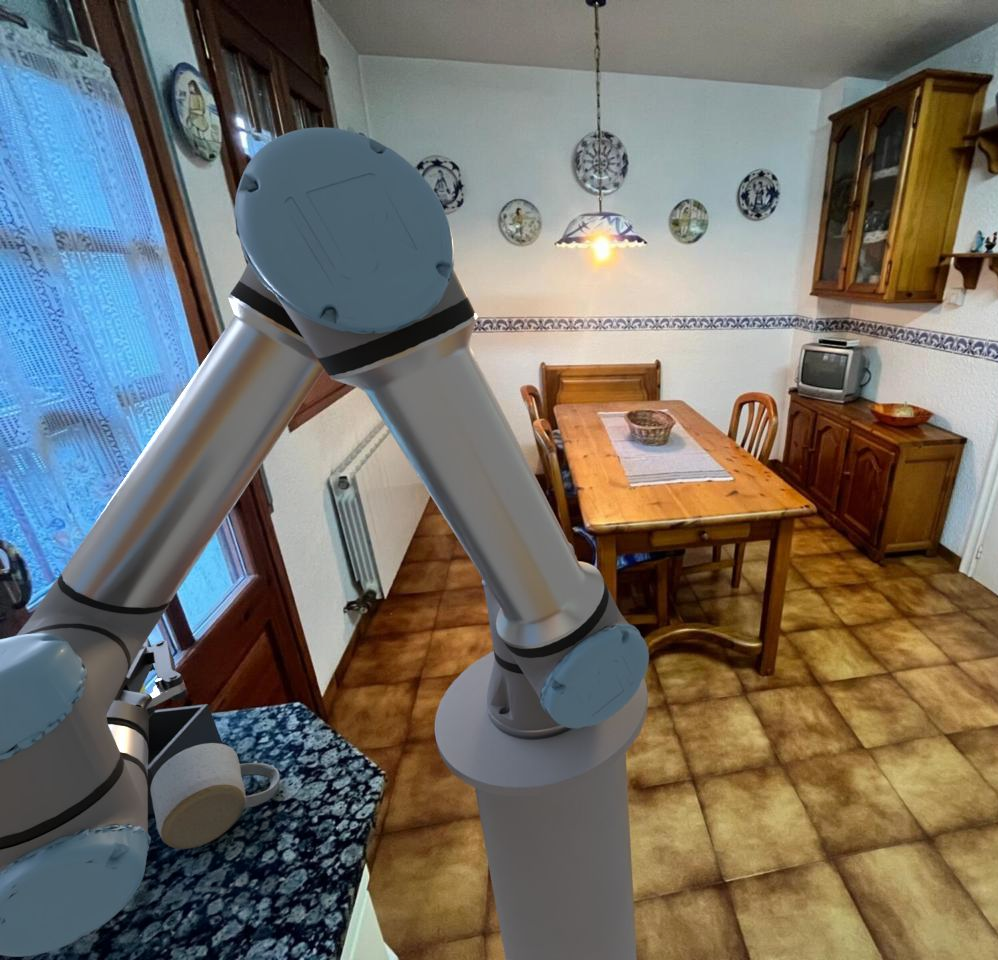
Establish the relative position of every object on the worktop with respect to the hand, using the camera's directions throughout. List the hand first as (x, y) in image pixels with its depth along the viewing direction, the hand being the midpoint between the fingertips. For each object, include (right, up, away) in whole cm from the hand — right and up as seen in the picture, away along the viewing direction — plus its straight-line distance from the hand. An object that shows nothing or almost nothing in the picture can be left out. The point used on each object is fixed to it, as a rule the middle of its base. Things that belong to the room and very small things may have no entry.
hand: (105, 642), depth 60 cm
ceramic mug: (+15, -19, -1) cm, 24 cm away
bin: (+3, -18, +3) cm, 18 cm away
